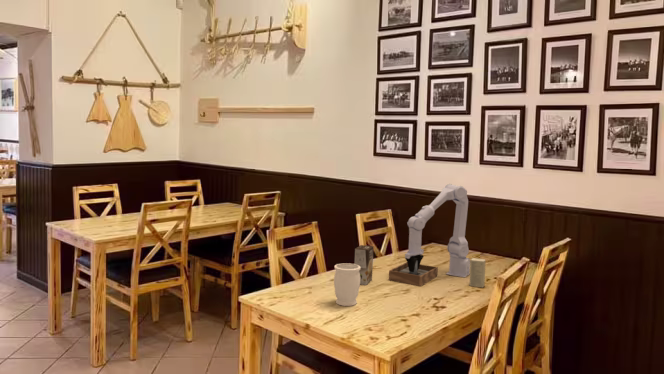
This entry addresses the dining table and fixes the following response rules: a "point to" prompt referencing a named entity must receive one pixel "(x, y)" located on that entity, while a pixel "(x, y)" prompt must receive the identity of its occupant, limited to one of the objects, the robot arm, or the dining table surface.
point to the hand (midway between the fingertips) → (413, 270)
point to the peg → (414, 269)
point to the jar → (346, 283)
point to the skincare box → (477, 272)
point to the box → (420, 279)
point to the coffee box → (364, 263)
